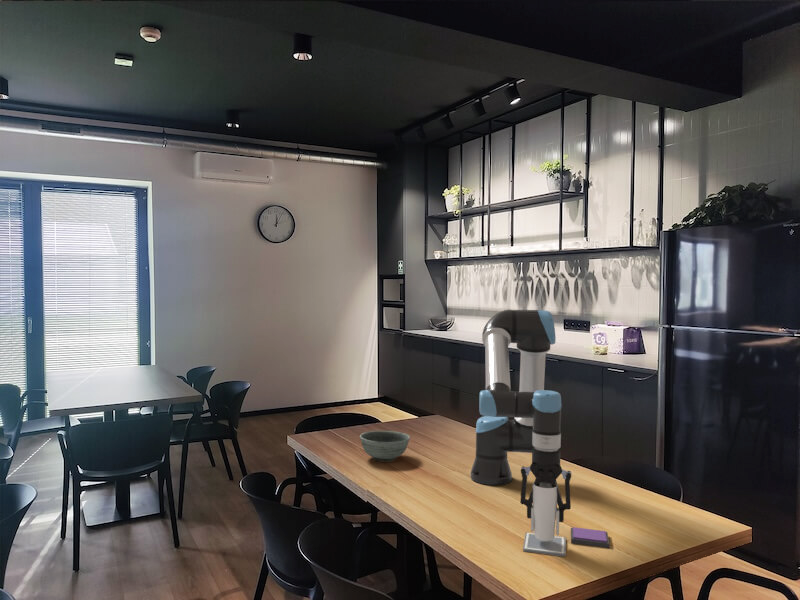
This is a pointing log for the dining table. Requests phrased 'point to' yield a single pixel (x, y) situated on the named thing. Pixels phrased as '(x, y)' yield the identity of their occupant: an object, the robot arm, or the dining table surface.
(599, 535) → the ink pad
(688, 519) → the dining table surface
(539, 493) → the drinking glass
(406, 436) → the bowl
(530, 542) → the plate
